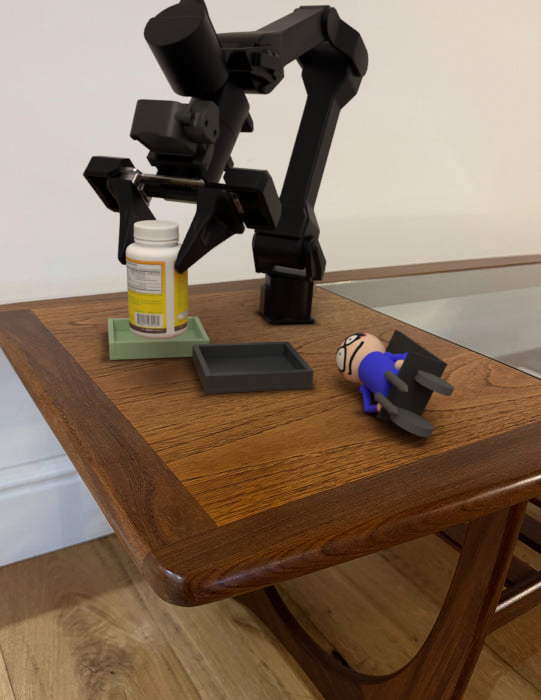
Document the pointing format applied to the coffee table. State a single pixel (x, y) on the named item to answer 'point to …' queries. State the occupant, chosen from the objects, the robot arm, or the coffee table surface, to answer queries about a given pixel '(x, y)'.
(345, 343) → the character figurine
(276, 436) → the coffee table surface
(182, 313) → the supplement bottle
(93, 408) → the coffee table surface
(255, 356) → the charcoal tray
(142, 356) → the sage tray
